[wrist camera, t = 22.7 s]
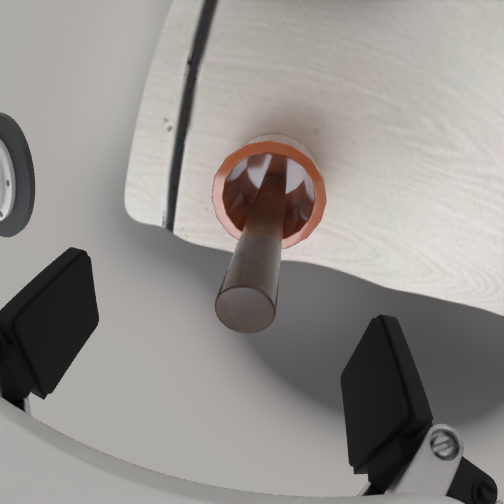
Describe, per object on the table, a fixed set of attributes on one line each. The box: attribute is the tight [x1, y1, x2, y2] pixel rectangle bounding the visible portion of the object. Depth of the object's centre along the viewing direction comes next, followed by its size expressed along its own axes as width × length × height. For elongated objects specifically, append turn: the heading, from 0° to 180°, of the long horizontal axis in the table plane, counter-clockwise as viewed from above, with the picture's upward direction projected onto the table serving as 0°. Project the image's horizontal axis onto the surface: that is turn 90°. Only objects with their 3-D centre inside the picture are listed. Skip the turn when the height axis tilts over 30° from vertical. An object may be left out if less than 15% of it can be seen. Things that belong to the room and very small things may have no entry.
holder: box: [212, 134, 326, 249], centre depth 24 cm, size 8×8×7 cm
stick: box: [215, 173, 286, 334], centre depth 18 cm, size 2×2×18 cm
